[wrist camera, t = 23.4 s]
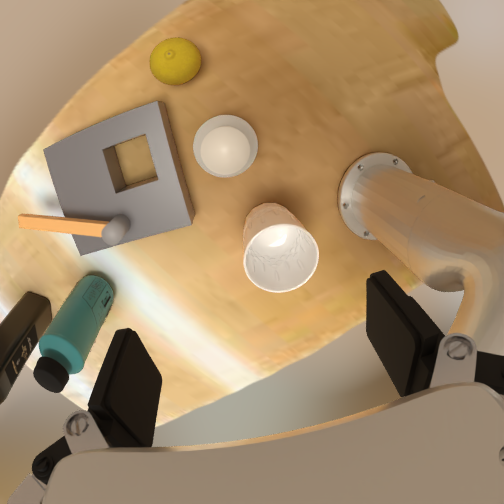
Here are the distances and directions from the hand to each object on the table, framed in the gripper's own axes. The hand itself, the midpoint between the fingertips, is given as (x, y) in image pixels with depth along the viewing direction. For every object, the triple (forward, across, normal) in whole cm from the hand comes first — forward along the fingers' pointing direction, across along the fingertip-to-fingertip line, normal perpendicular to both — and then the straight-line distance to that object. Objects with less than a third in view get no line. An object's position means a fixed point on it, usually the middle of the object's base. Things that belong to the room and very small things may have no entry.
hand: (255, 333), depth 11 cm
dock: (+28, +14, -4) cm, 32 cm away
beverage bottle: (+28, +24, +10) cm, 39 cm away
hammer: (+24, +21, -2) cm, 32 cm away
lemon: (+28, +3, -16) cm, 33 cm away
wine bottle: (+28, +39, +11) cm, 50 cm away
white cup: (+28, -3, +7) cm, 30 cm away
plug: (+28, 0, -5) cm, 29 cm away
